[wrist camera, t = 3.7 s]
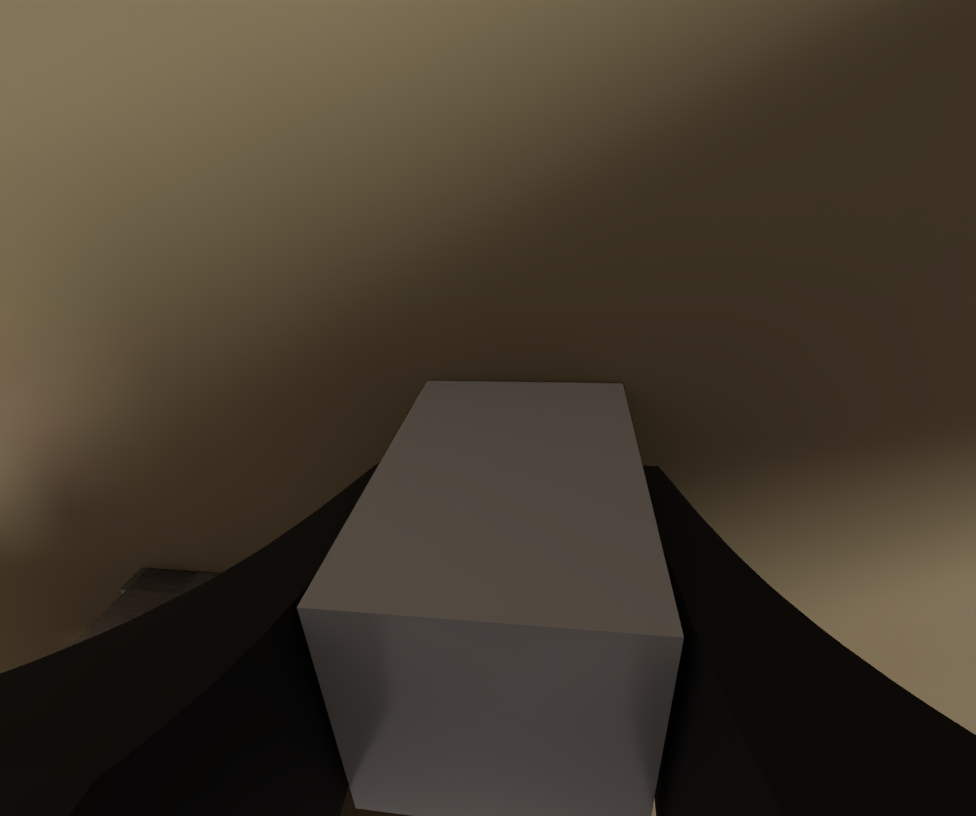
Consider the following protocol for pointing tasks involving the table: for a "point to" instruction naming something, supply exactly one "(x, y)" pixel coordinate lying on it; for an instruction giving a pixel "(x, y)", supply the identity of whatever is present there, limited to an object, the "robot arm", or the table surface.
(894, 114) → the table surface
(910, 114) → the table surface
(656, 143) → the table surface
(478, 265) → the table surface
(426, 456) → the light grey block
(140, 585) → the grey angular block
